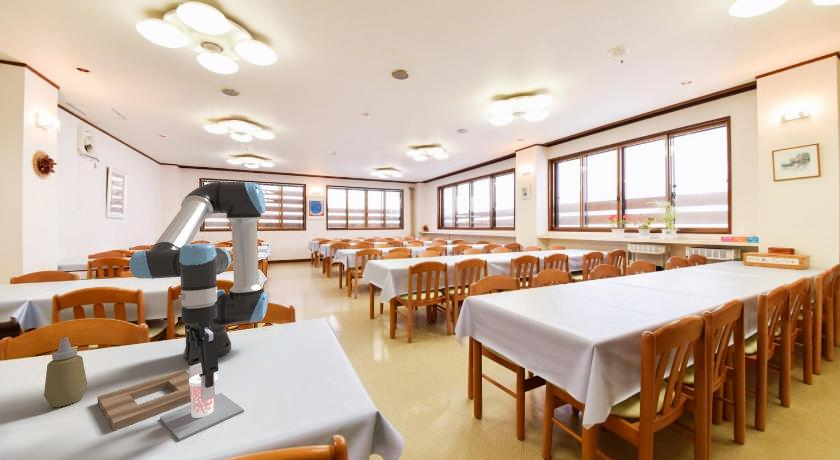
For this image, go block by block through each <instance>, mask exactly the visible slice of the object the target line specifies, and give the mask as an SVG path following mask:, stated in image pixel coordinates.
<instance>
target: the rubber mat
mask: <svg viewBox="0 0 840 460" xmlns="http://www.w3.org/2000/svg"><path fill="white" fill-rule="evenodd" d="M244 412H245V409H244V408H242V407H241V406H240V405H239V404H237V403H236V402H234V401H233V400H231V399H230V398H229V397H227V395H225V394H223V393H221V392H220V393H217V394H215V397H214V405H213V412H212V413H211V414H209V415H207V416H205V417H200V418H194V417H192V416H191V404H189V405H186V406H184V407H181V408H178V409H175V410H173V411H171V412H169V413H167V414H164V415H162V416H159V420H160V421H161V422H162V424H164V426H165V427H166V428H167V429H168V430H169V432H171V434H172V435H174V437H175V438H176V439H177V441H179V442H181V441H184V440H186V439H188V438H190V437H192V436H194V435H197V434H200V433H201V432H203V431H205V430H207V429H209V428H212V427H213V426H215V425H218V424H220V423H223V422H224V421H227V420H229V419H231V418H233V417H235V416H238V415H240V414H242V413H244Z"/></svg>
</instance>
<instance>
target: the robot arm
mask: <svg viewBox="0 0 840 460" xmlns="http://www.w3.org/2000/svg"><path fill="white" fill-rule="evenodd" d="M265 213H266V200H265V195H264V191H263V188H262V187H261V185H260V184H258V183H254V182H247V181H246V182H221V181H220V182H217V181H215V182H210V183H206V184H203V185H200V186H198V187H197V188H195V189H193V190H192V191H190V192H189V193H188V194H187V195H186V196H185V197H184V198H183V200H181V204H180V210H179V211H178V212H177V213H176V214H175V216H174V217H173V218H172V220H171V221H170V223H169V224H168V225H167V227H166V228H165V230H164V231H163V232H162V234H161V235H160V236H159V238H158V239H157V240H156V242H155V243H154V244H153V246H152V247H151V248H150V249H149V250H141V251H135V252H133V254H132V255H131V257H130V259H129V271H130V273H131V275H132V276H133V277H134V278H136V279H144V280H145V279H151V280H155V279H168V278H169V279H170V278H180V294H179V295H178V299H181V302H180V303H181V306H182V308H181V310H180V311H181V313H180V314H181V322H182V323H183V324H185V325H184V328H185V329H184V330H185V348H184V350H183V359H184V360H185V361H186V362H187V365H188V370H189V371H188V373H189V379H190V378H191V377H193V376H195V375H198V374H199V376H200V377H201V401H202V402H203V401H206V400H208V399H211V398H213V397H215V395H216V393H215V392H216V384H215V381H214V373H216V372H217V373H218V372H219V361H218V360H219V359H218V358H220V357H222V356H225V355H226V353H227V354H228V353H230V352H231V351H232V342H231V339H230V337H229V335H228V332H227V329H226V326H227V325H236V324H247V323H249V324H251V323H257V322H258V323H259V322H262V321H263V320H264V318H265V316H266V315H267V309H268V303H269V292H268V291H267V290H264V285H262V284H261V283H260V277H259V276H260V275H259V249H258V247H259V246H258V244H259V243H258V222H259V221H260V220H261V219H262V215H263V214H265ZM213 214H214V215H215V214H226V215H225V216H226V219H227V220H228V221H229V222H230V223H231V242H232V245H231V246H232V247H231V248H232V256H231V254H230V253H229V252H228V250H226V249H225V248H219V247H216V245H215V244H213V243H192V242H193V240H194V238H195V237H196V235H197V234H198V232H199V230H200V229H201V227H202V225H203V223H204V222H205V220H207V219H209V218H210V217H211V216H212V215H213ZM231 263H232V266H233V267H232V268H233V269H232V271H233V285H232V286H231V287H230V289H229V293H226V291H225V289H218V285H217V275H221V274H223V273H225V272H226V271H227V270H228V269H229V267H230V266H231ZM230 350H231V351H230ZM229 351H230V352H229ZM224 354H225V355H224ZM201 373H202V374H201Z"/></svg>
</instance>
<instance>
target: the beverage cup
mask: <svg viewBox="0 0 840 460" xmlns="http://www.w3.org/2000/svg"><path fill="white" fill-rule="evenodd" d="M201 374H202V373H201ZM217 380H218V374H217V373H216V372H214V381H215V385H216V382H217ZM189 385H190V394H191V402H190V405H191V416H192V417H194V418H200V417H205V416H207V415H209V414H211V413H212V412H213V405H214V397H213V398H211V399H208V400H206V401H203V402H202V401H201V377H200V376H199V374H198V375H195V376H193V377H191V378H190V379H189Z"/></svg>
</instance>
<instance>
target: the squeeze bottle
mask: <svg viewBox="0 0 840 460" xmlns="http://www.w3.org/2000/svg"><path fill="white" fill-rule="evenodd" d="M51 356H52V357H51V359H52V360H51V361H49V362H48V363H47V364H46V365H47V366H46V374H45V383H44V390H43V391H44V392H43V396H44V398H45V400H46V402H47V403H48V405H49V406H50V407H51V408H52V407H58V408H62V407H61V406H63V407H66V406H65V405H67V406H70V405H73V404H75V403H77V402H79V401H80V400H82V399H83V396H84V394H85V390H86V388H87V385H88V381H87V376H86V375H87V374H86V370H85V365H84V359H83V356H81V355H78V348H76V347H72V345H71V343H70V340H69V337H63V338H60V341H59V345H58V349H57V351H54V352H53V353H52V354H51ZM72 403H73V404H72ZM69 404H70V405H69Z"/></svg>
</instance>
